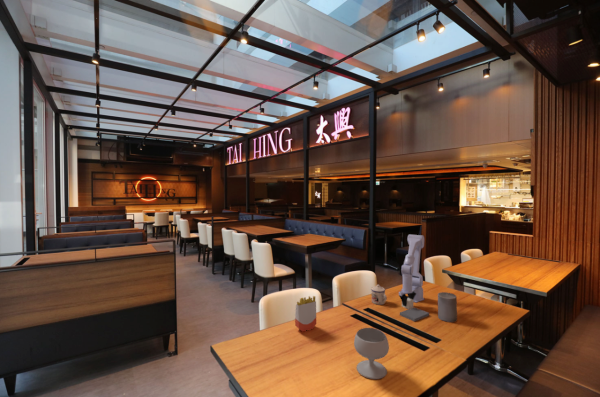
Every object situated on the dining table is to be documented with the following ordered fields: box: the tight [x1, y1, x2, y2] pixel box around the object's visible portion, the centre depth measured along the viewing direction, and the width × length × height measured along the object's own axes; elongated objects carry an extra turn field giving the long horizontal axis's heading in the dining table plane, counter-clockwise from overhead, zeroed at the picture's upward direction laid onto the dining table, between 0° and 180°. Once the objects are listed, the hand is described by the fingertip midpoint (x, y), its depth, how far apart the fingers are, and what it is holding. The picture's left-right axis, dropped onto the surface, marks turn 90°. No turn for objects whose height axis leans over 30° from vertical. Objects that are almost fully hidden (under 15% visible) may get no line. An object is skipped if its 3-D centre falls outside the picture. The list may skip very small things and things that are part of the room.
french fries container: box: [294, 295, 317, 332], centre depth 149 cm, size 5×11×18 cm, turn 118°
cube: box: [401, 298, 414, 310], centre depth 176 cm, size 5×5×5 cm
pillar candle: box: [437, 291, 458, 323], centre depth 159 cm, size 10×10×15 cm
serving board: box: [399, 306, 430, 322], centre depth 164 cm, size 14×10×2 cm
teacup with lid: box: [370, 284, 388, 306], centre depth 183 cm, size 12×9×12 cm
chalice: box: [353, 327, 390, 380], centre depth 114 cm, size 14×14×15 cm
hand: (407, 304), depth 176 cm, fingers open, 5 cm apart
